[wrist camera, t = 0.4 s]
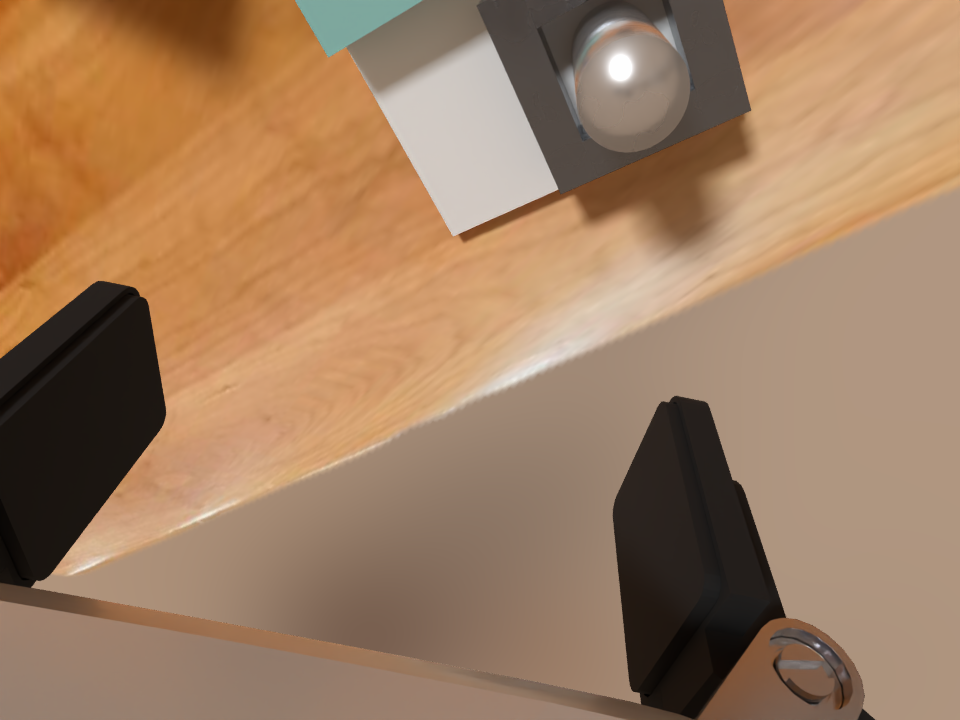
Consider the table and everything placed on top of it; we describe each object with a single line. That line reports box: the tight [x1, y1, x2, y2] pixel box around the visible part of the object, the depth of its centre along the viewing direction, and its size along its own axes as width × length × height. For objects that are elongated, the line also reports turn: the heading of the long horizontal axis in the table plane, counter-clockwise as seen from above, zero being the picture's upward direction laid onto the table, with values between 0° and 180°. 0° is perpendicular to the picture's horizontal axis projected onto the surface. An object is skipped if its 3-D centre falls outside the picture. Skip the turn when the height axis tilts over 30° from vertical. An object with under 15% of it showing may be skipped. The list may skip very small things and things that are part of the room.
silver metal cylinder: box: [571, 1, 690, 152], centre depth 26 cm, size 4×4×10 cm
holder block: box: [477, 0, 751, 194], centre depth 29 cm, size 10×10×3 cm
